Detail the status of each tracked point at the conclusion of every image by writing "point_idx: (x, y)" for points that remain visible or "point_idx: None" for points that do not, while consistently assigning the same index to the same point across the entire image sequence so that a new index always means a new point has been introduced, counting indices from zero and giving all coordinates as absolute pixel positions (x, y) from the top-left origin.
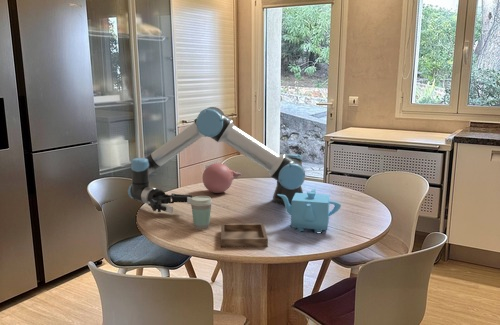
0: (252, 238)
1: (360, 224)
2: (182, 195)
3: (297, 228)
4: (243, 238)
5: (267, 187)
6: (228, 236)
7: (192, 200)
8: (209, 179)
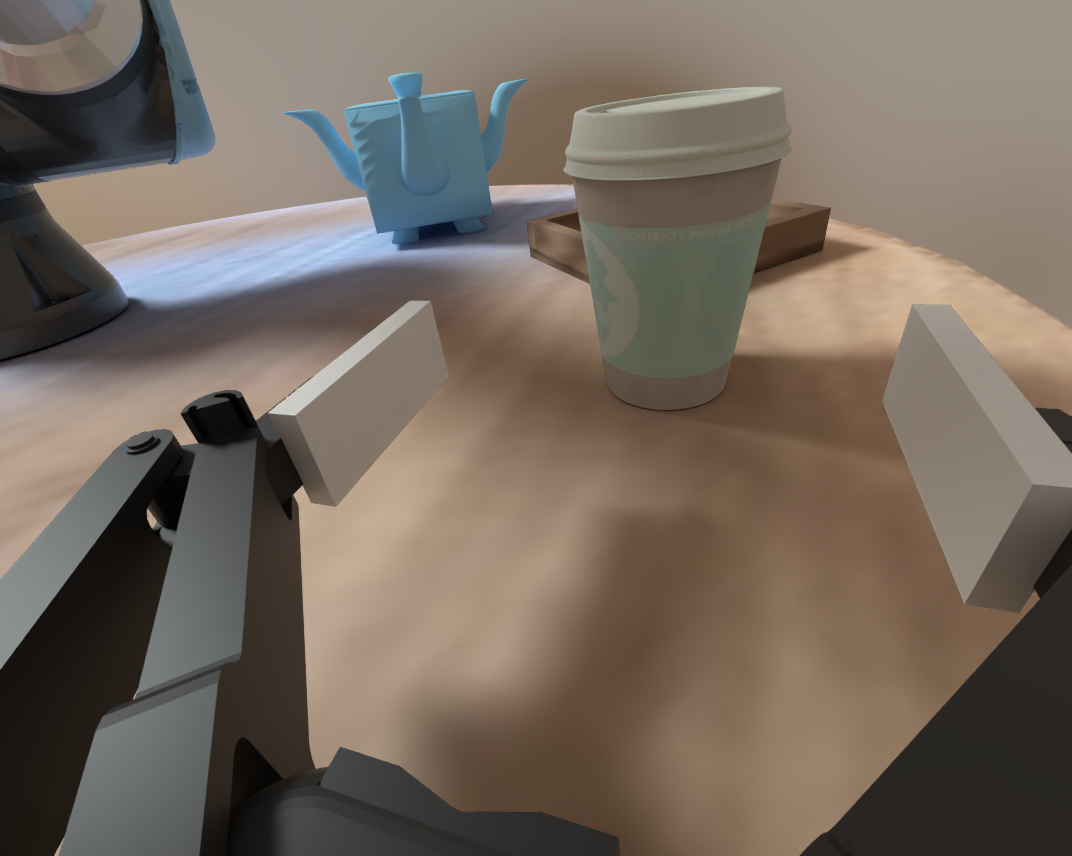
0: None
1: (365, 208)
2: (79, 565)
3: (471, 223)
4: None
5: None
6: None
7: (781, 103)
8: None
